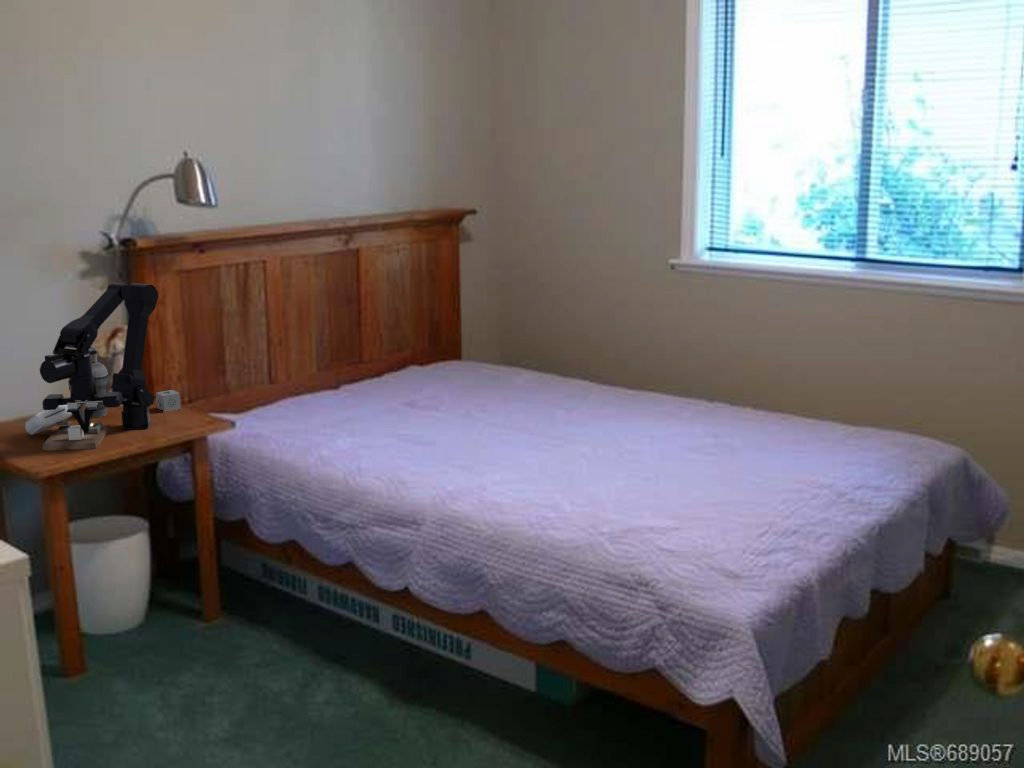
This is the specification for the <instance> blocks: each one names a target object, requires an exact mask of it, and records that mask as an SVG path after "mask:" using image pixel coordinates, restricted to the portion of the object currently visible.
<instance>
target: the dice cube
mask: <svg viewBox="0 0 1024 768" xmlns="http://www.w3.org/2000/svg"><path fill="white" fill-rule="evenodd" d="M180 394H181V393H180V392H178V391H176V390H174V389H170V390H164V391H158V392H155V397H156V398H155V399H156V407H157V408H158V409H160V410H163V411H171V412H173V411H172V410H176V411H179V410H178V409H181V410H182V406H181V404H182V403H181V395H180ZM157 408H156V409H157ZM158 409H157V410H158ZM160 410H159V411H160Z"/></svg>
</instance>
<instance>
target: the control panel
mask: <svg viewBox="0 0 1024 768" xmlns="http://www.w3.org/2000/svg"><path fill="white" fill-rule="evenodd" d="M93 422H94V421H93ZM94 423H95V428H89V431H88V433H84V431H83V433H84V437H83V438H82V439H81V440H69V436H68V428H69V427H70V426H71V425H60V426H59V427H58V428H57V429H55V430H54V432H52V433H51V435H50V436H49V437H48V438H47V439H46V441H45V442H43V444H42V446H41V447H42V451H43V450H47V451H65V450H64V449H70V450H90V449H91V450H92V449H93V450H94V449H97V447H98V446H99V445H100V444H101V442H102V441H103V439H104V438H105V437H104V436H106V435H108V427H107V426H106V427H104V425H103V422H101V421H100V422H99V421H98V422H97V421H96V422H94ZM77 425H79V423H78V424H77Z"/></svg>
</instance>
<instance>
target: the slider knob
mask: <svg viewBox="0 0 1024 768" xmlns="http://www.w3.org/2000/svg"><path fill="white" fill-rule="evenodd" d="M69 426H70V427H69V428H68V436H69V440H81V439H82V438H83V437H84V433H83V430H82V428H81V426H80V425H78V424H77V425H69Z"/></svg>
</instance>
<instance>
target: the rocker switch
mask: <svg viewBox="0 0 1024 768" xmlns="http://www.w3.org/2000/svg"><path fill="white" fill-rule="evenodd" d="M72 425H73V421H68V420H67V421H66V420H65V421H63V422H57V425H56V426H57V427H58V426H59V427H60V426H72Z"/></svg>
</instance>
